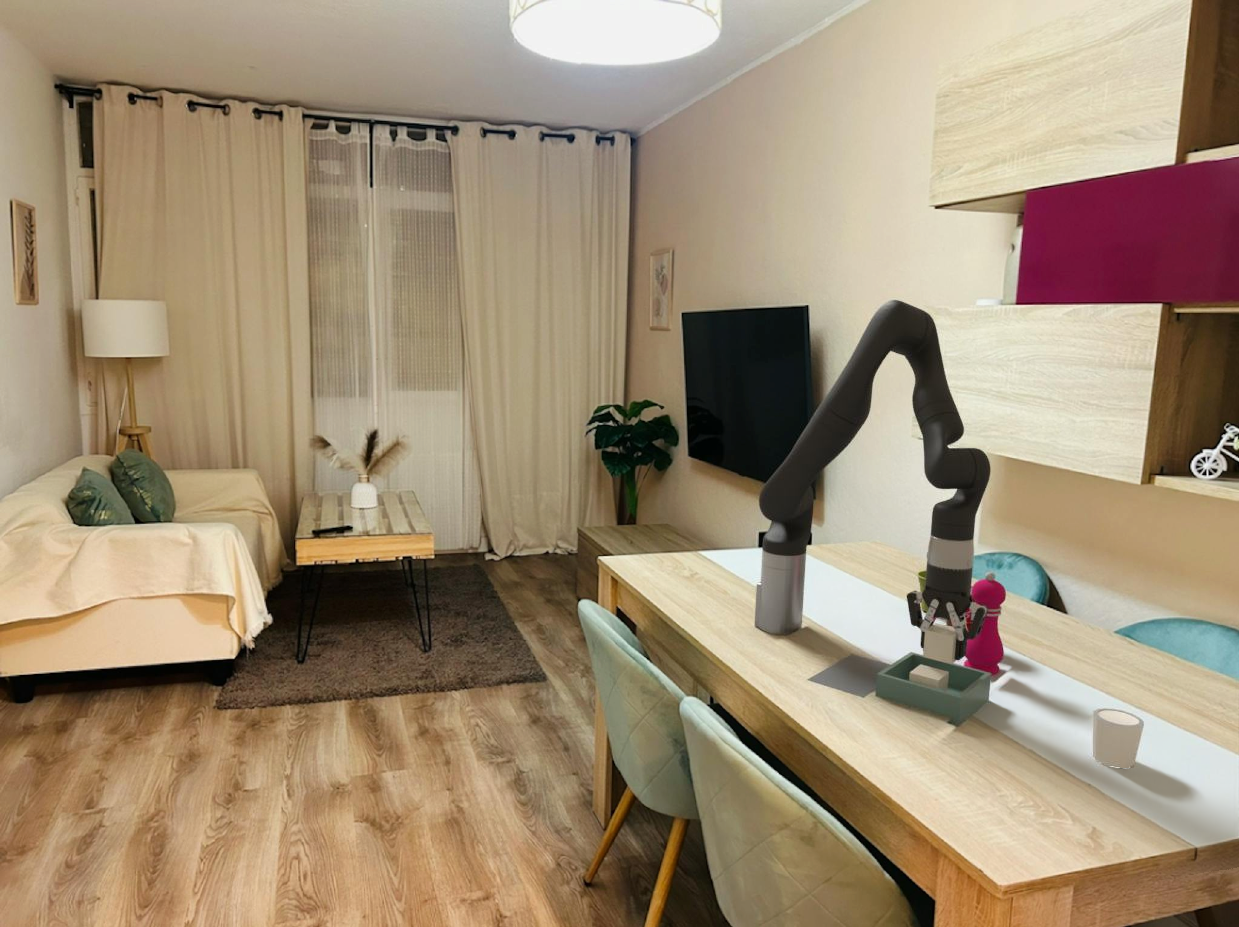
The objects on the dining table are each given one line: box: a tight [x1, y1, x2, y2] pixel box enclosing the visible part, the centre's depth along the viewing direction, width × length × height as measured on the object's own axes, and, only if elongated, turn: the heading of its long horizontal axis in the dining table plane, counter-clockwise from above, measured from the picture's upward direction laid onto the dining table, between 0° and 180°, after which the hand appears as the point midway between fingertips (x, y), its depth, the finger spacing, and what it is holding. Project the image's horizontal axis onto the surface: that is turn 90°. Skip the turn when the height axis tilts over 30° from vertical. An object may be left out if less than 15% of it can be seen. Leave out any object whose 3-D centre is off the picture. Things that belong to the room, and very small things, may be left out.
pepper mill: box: [963, 571, 1007, 676], centre depth 167 cm, size 7×7×20 cm
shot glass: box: [1092, 707, 1145, 768], centre depth 135 cm, size 7×7×7 cm
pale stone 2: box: [909, 664, 949, 692], centre depth 153 cm, size 5×5×5 cm
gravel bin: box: [875, 651, 992, 728], centre depth 155 cm, size 15×15×5 cm
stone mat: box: [806, 653, 892, 698], centre depth 164 cm, size 11×18×1 cm, turn 139°
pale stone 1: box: [922, 622, 957, 664], centre depth 156 cm, size 5×5×5 cm
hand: (942, 654), depth 157 cm, fingers closed on pale stone 1, 5 cm apart
